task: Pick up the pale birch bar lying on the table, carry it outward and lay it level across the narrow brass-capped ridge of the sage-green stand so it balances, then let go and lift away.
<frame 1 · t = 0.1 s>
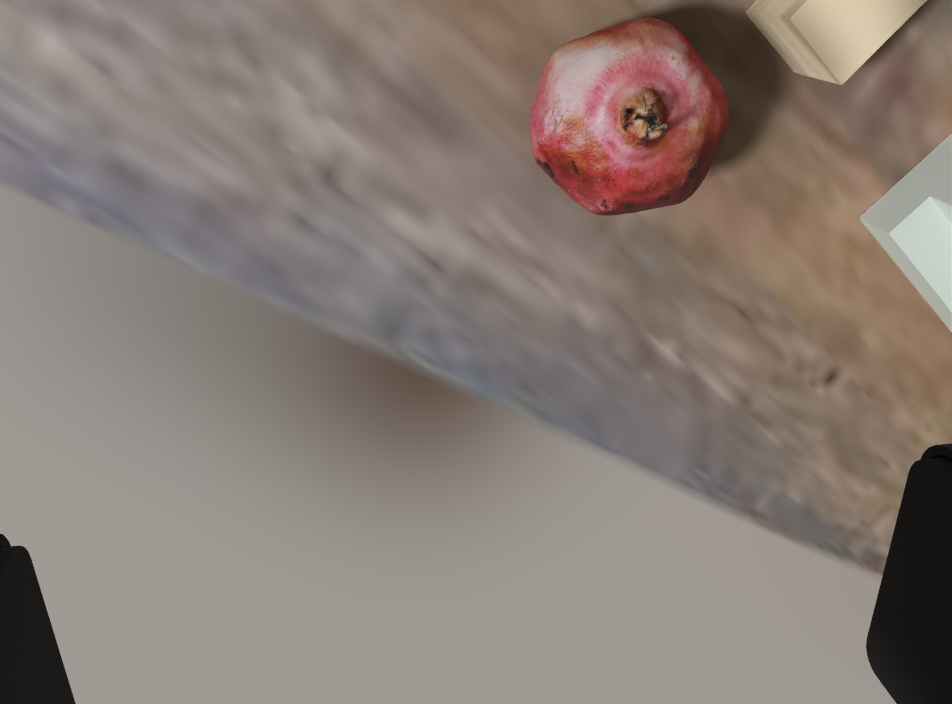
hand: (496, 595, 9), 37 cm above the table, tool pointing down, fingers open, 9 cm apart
fruit: (604, 106, 44), on the table
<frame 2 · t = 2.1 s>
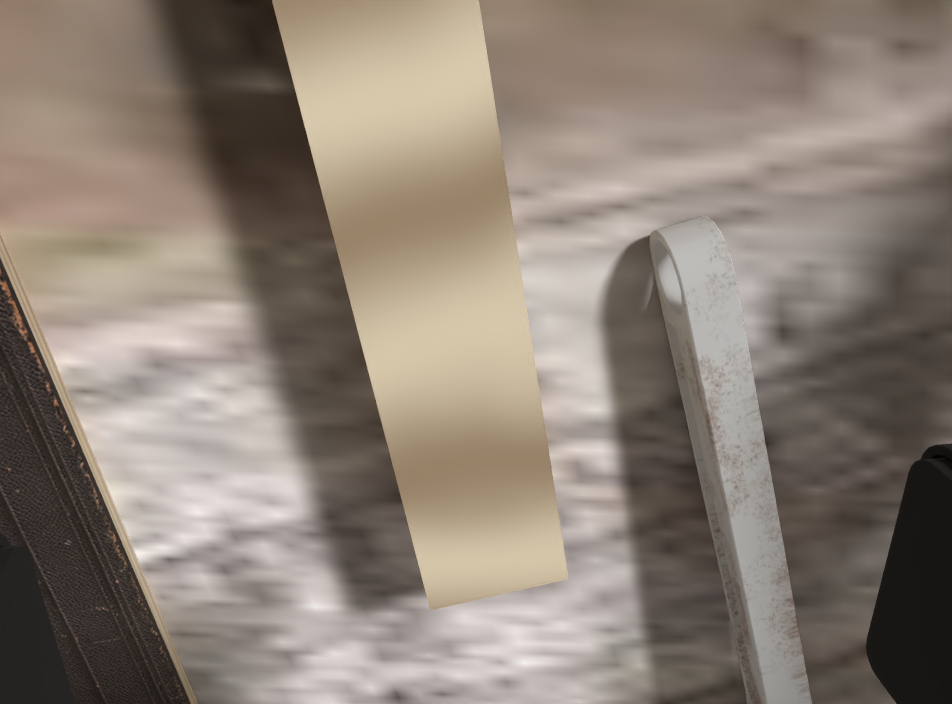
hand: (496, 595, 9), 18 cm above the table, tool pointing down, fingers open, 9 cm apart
birch bar: (411, 179, 25), on the table
wrench: (724, 555, 33), on the table
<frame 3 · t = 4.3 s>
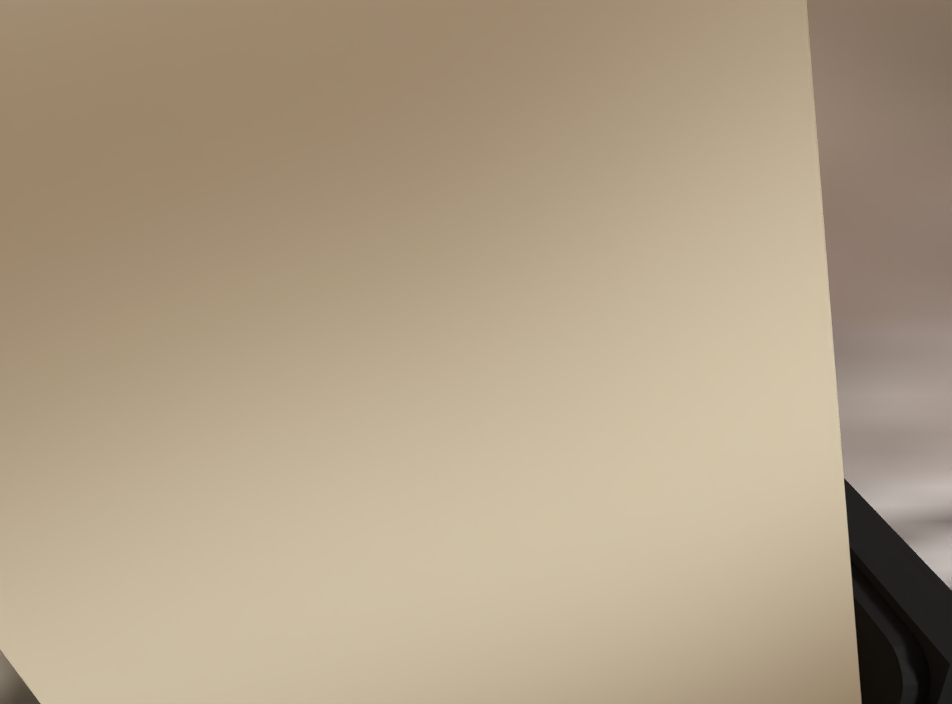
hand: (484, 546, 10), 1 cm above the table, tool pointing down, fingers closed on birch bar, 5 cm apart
birch bar: (474, 503, 10), on the table, touching gripper
when the fingers open (12 cm above the table, at t = 10.3 s): birch bar stays where it is, resting on ridge stand.
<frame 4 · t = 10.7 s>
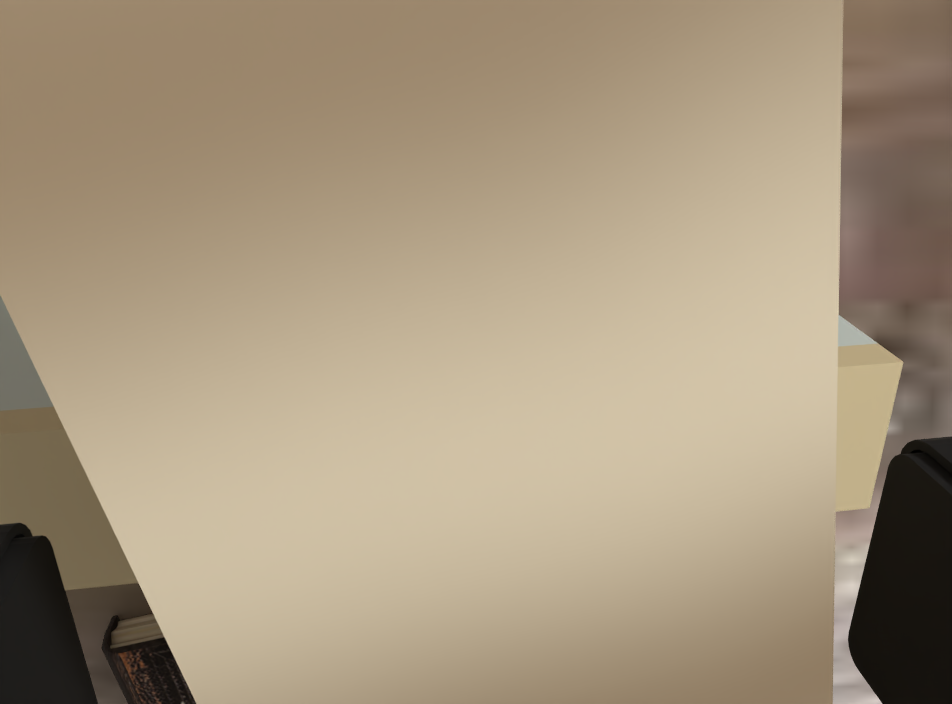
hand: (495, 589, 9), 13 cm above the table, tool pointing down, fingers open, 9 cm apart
birch bar: (473, 463, 11), point 11 cm above the table, touching ridge stand
ridge stand: (326, 235, 21), on the table
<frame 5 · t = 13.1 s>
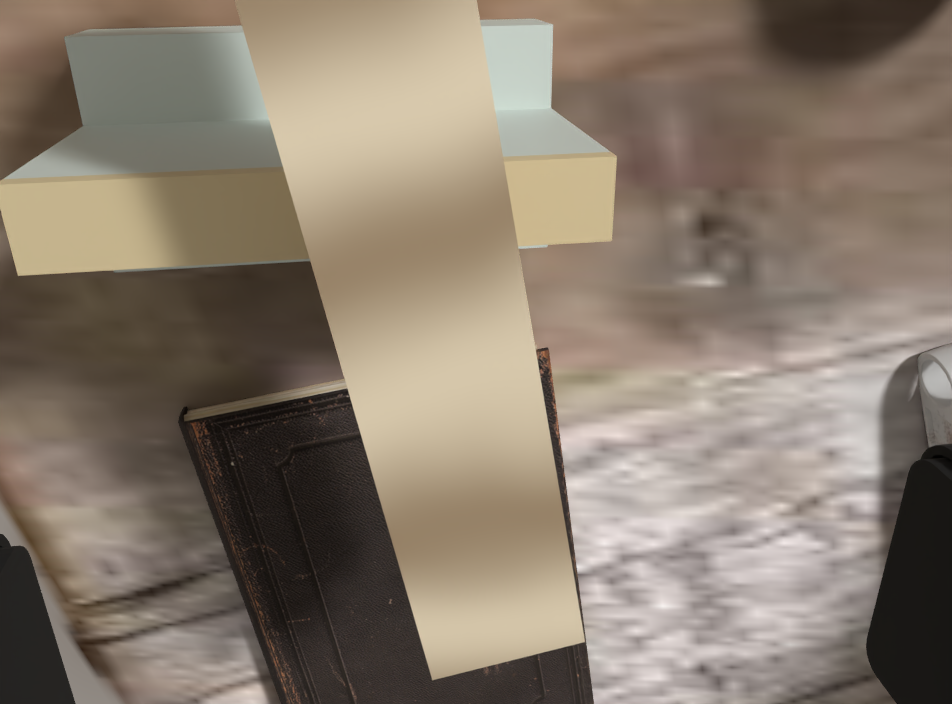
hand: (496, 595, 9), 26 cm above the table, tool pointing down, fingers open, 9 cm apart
birch bar: (403, 203, 22), point 11 cm above the table, touching ridge stand
wrench: (940, 558, 47), on the table
ridge stand: (329, 135, 32), on the table
hardcover book: (410, 561, 42), on the table
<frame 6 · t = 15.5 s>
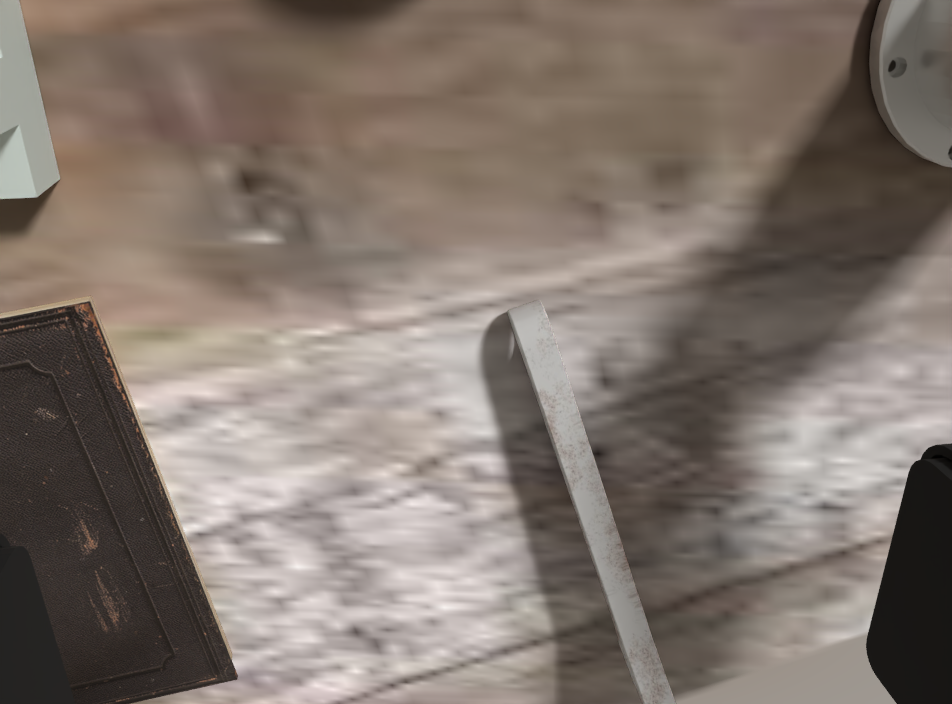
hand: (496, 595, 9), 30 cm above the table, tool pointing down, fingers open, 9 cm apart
wrench: (591, 519, 48), on the table
hardcover book: (25, 519, 43), on the table
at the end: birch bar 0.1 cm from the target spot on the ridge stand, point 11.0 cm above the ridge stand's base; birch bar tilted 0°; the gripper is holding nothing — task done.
